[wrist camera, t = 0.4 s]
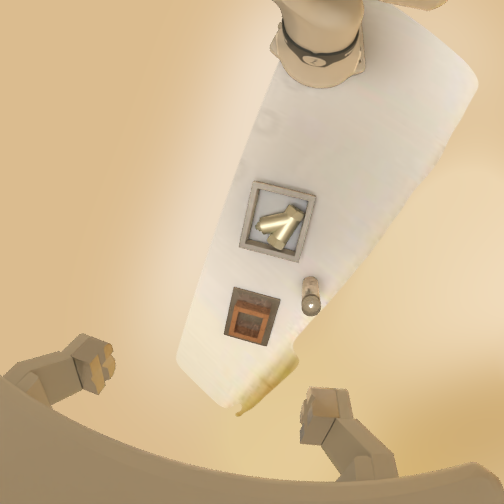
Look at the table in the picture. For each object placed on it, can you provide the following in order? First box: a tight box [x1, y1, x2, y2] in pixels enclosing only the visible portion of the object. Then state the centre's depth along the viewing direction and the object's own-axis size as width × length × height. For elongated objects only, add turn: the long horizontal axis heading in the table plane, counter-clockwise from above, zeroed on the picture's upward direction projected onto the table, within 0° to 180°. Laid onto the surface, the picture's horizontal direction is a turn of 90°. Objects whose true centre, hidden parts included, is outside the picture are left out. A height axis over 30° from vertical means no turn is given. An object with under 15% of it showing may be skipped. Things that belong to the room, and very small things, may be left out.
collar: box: [224, 287, 280, 346], centre depth 61 cm, size 12×10×4 cm
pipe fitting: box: [255, 205, 305, 250], centre depth 54 cm, size 8×4×7 cm
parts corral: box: [239, 181, 316, 263], centre depth 54 cm, size 12×12×4 cm
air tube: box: [302, 276, 321, 316], centre depth 53 cm, size 3×3×11 cm
